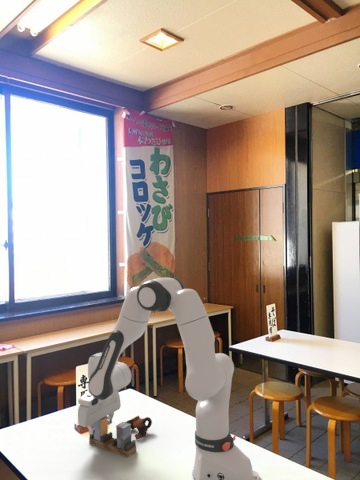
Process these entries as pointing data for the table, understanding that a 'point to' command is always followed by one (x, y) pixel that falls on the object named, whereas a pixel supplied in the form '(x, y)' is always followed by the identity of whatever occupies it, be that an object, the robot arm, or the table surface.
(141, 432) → the pottery mug
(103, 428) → the multicoloured piece
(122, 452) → the rail
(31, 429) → the table surface
